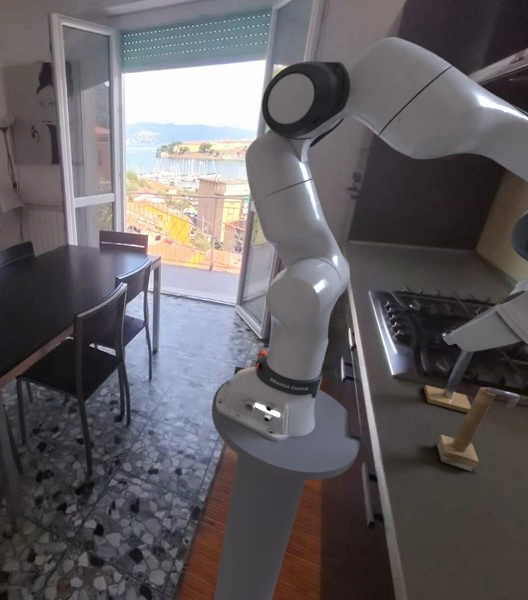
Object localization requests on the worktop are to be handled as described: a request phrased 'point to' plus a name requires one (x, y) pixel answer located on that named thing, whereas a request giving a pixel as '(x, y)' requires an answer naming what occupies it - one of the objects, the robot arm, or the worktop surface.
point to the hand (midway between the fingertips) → (464, 329)
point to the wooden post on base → (470, 430)
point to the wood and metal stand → (453, 383)
